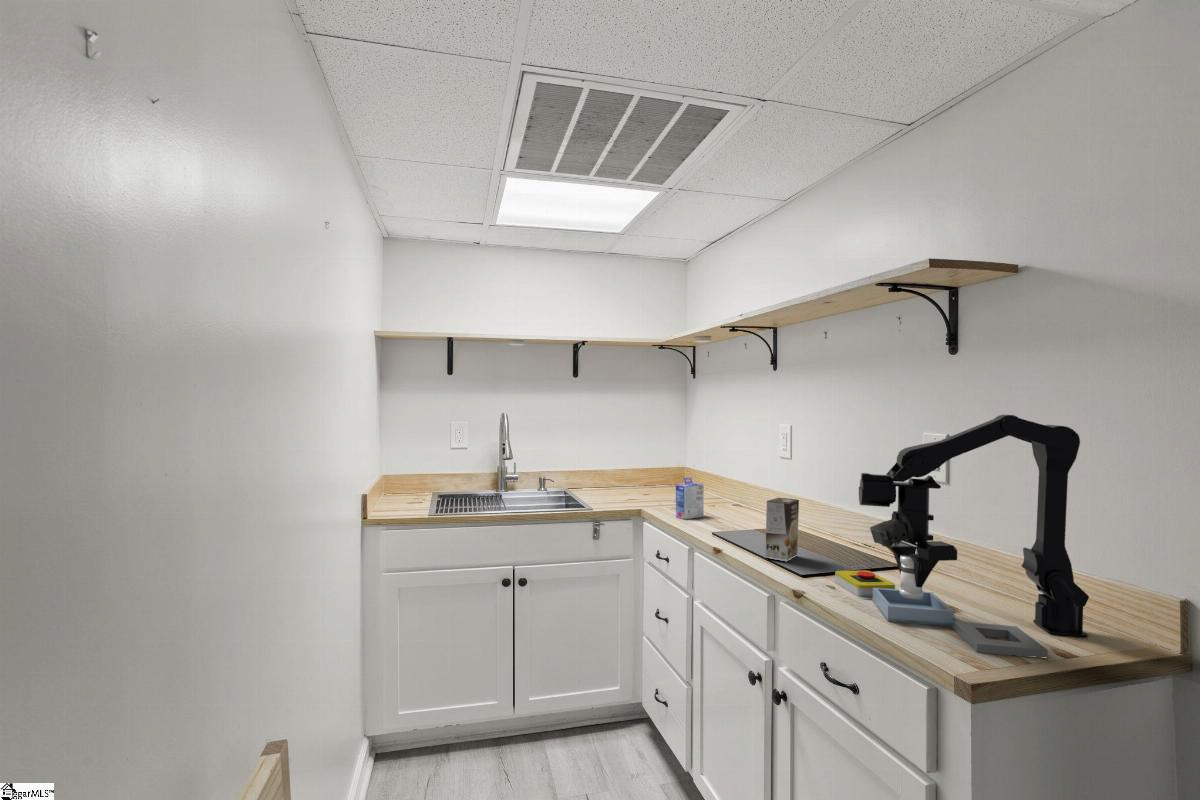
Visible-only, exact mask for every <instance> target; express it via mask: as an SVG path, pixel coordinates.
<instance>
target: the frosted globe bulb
mask: <svg viewBox="0 0 1200 800" xmlns="http://www.w3.org/2000/svg"><path fill="white" fill-rule="evenodd" d="M900 562H901V575H900V587H899V589H898V590H899V594H900V596H902V597H905V598H909V599H923V592H924V590H923V586H922V587H916V583H915V571H914V561H913V560H912V559H911V558H910V556H909V555H900Z"/></svg>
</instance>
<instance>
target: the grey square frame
mask: <svg viewBox="0 0 1200 800" xmlns="http://www.w3.org/2000/svg"><path fill="white" fill-rule="evenodd" d="M952 630H954V632H955V633H957V634H958V635H959V636H960V637H961V638H962V639H963V640H964V641H965V642H966V643H967V644H968V645H969V646H970V647H971V648H972V649H973V650H974V651H975V652H976V653H978V654H980V653H982V654H990V655H1002V656H1011V655H1019V656H1018V657H1022V656H1036V657H1047V658H1049V657H1048V654H1049V650H1048V649H1047V648H1045V647H1044V646H1043V645H1042V644H1041V643H1039V642H1038V641H1037V640H1035V639H1034V638H1032V637H1031V635H1029V634H1027V633H1026V632H1025V631H1024V630H1022V629H1021V628H1019V627H1018V626H1016V625H1008V624H1007V625H1005V624H994V623H982V622H980V623H979V622H971V621H970V622H969V621H967V622H966V621H958V620H954V621H953V627H952ZM986 637H987V638H986ZM997 637H999V639H989V638H997ZM1007 638H1008V639H1007ZM1000 639H1007V640H1000Z"/></svg>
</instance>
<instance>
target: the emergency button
mask: <svg viewBox="0 0 1200 800" xmlns="http://www.w3.org/2000/svg"><path fill="white" fill-rule="evenodd" d="M834 575H835V576H834V578H830V579H829V580H830V581H831V582H833V583H834V584H836V585H837V586H839V587H841V588H842V589H844V590H845V591H847V592H848V593H851V594H852V595H853V596H856V597H857V598H859V599H860V600H865V601H866V600H867V601H871V600H872V601H873V588H884V589H896V584H895V583H894V582H891V581H890V580H888V579H886V578H884V577H882V576H880V575H878V574H876V573H875V572H873V571H870V570H836V571H835V573H834Z"/></svg>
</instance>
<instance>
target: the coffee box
mask: <svg viewBox="0 0 1200 800" xmlns="http://www.w3.org/2000/svg"><path fill="white" fill-rule="evenodd" d="M799 505H800V500H799V499H796V498H789V497H788V498H787V497H776V498H773V499H768V500H766V511H765V512H766V515H765V516H766V520H765V522H766V523H765V558H766V557H773V558H781V559H787V560H788V559H789V558H791V557H793V556H795V555H797V554H799V553H798V551H799V549H798V548H799V512H800V511H799V509H800V507H799ZM765 558H764V559H765Z"/></svg>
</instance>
